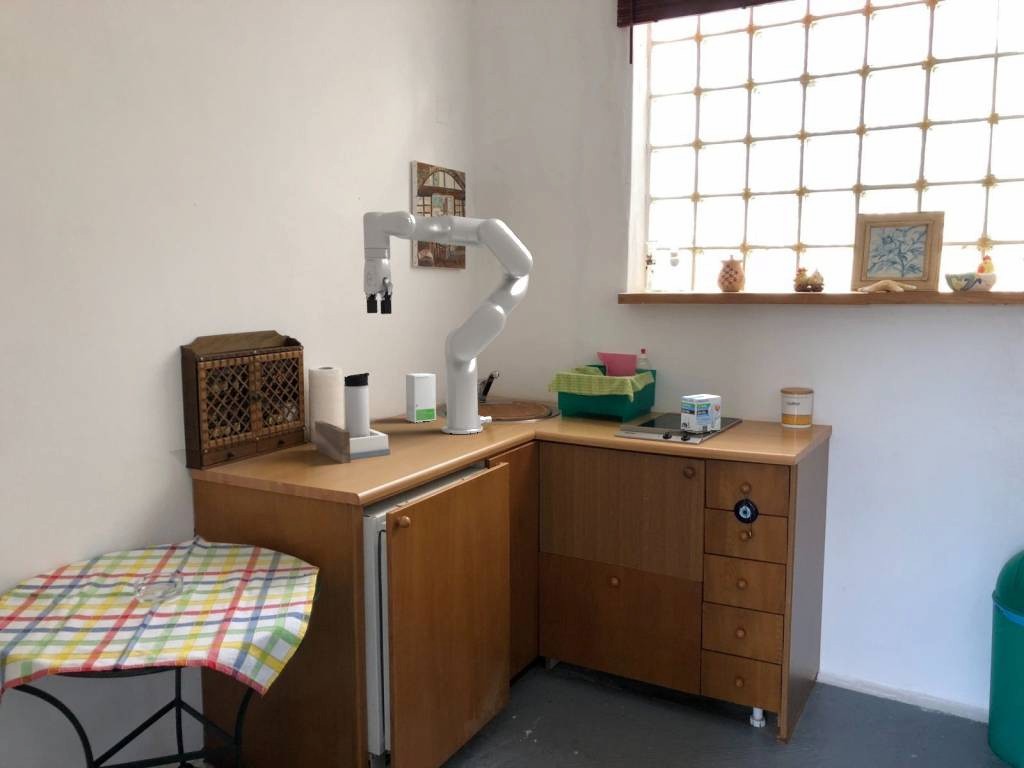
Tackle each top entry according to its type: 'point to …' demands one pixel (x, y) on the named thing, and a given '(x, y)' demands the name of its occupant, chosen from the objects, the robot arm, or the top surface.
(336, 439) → the wall
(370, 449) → the socket block
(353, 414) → the travel mug
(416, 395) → the skincare box
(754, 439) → the top surface
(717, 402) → the light bulb box
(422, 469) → the top surface
